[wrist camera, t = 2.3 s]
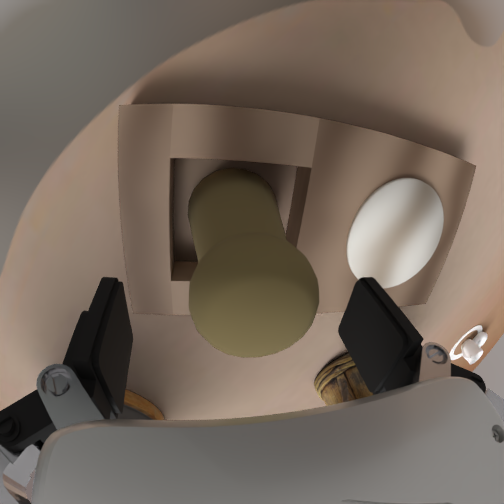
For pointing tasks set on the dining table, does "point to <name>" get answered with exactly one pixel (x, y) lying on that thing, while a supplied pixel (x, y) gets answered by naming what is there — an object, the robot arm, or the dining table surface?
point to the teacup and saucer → (471, 346)
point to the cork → (246, 268)
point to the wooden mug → (341, 382)
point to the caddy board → (293, 199)
